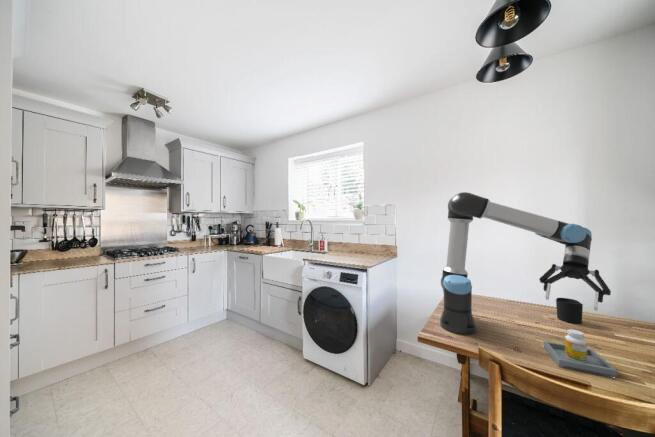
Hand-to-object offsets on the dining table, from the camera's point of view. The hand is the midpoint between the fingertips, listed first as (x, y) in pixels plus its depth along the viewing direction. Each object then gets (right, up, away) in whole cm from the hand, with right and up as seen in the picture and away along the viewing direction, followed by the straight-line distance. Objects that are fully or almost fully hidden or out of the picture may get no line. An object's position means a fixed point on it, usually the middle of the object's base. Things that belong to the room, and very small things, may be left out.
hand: (569, 303), depth 94 cm
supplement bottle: (-7, -17, -9) cm, 21 cm away
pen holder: (+25, -18, +25) cm, 40 cm away
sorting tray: (-7, -18, -9) cm, 21 cm away
